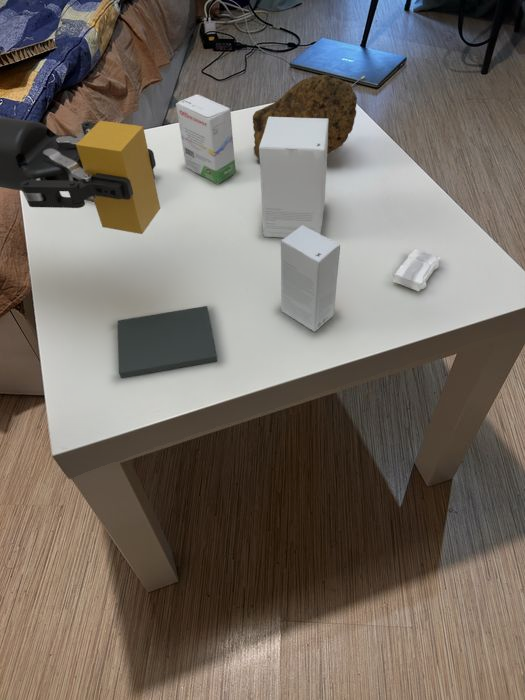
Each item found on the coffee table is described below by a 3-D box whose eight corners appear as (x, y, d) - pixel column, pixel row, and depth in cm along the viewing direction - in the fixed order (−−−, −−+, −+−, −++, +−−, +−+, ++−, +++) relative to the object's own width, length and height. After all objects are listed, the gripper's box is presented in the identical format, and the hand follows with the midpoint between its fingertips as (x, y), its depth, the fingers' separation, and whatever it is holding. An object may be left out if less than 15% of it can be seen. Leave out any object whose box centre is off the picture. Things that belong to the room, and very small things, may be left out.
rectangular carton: (324, 206, 85) (331, 116, 74) (320, 241, 80) (326, 149, 68) (269, 203, 87) (267, 114, 75) (261, 237, 81) (257, 146, 69)
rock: (295, 176, 104) (384, 119, 92) (271, 191, 95) (366, 131, 83) (261, 114, 101) (348, 47, 89) (232, 124, 92) (325, 51, 80)
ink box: (237, 173, 93) (232, 107, 84) (217, 185, 90) (209, 118, 81) (204, 156, 96) (196, 91, 87) (184, 167, 94) (173, 102, 85)
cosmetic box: (334, 315, 70) (342, 244, 61) (314, 333, 68) (319, 262, 59) (300, 294, 73) (302, 223, 63) (279, 311, 71) (279, 240, 61)
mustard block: (102, 227, 59) (75, 144, 52) (122, 202, 62) (99, 120, 55) (142, 234, 58) (120, 151, 51) (160, 208, 61) (143, 126, 54)
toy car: (388, 284, 73) (391, 272, 72) (411, 252, 77) (414, 240, 76) (420, 296, 72) (423, 284, 70) (441, 263, 76) (445, 251, 74)
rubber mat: (120, 378, 64) (118, 373, 64) (119, 325, 70) (117, 320, 69) (217, 361, 66) (216, 356, 65) (207, 310, 71) (207, 305, 70)
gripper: (50, 151, 66) (174, 170, 62) (-20, 218, 57) (119, 244, 54) (28, 90, 60) (163, 107, 57) (-54, 155, 51) (99, 180, 48)
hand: (141, 174), depth 55 cm, fingers closed on mustard block, 5 cm apart
